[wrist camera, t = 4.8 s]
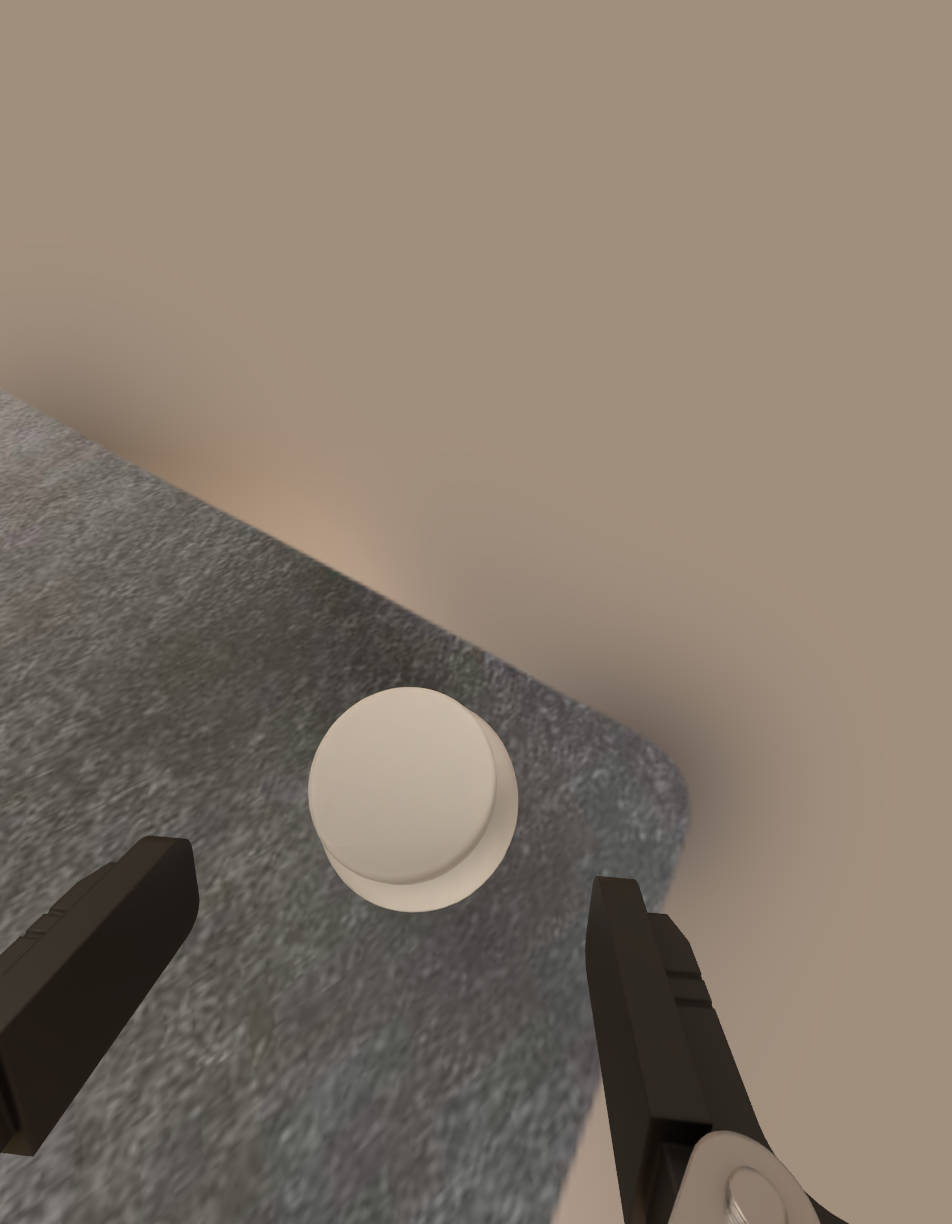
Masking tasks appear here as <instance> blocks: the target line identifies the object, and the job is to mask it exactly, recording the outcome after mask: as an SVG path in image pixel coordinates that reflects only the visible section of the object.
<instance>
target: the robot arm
mask: <svg viewBox="0 0 952 1224" xmlns="http://www.w3.org/2000/svg"><path fill="white" fill-rule="evenodd" d="M198 909H199V892H198V885H197V878H196V872H195V865H194V858H193V851H192V845H191V843H190V841H189V840H187V839H182V838H171V837H159V836H146V837H144V838H142V839H141V840H139V841H138V842H137V843H136V844H135V845H134V846H133V847H132V848H131V849H130V850H129V851H128V852H127V853H126V854H125V855H124V856H123V857H122V858H121V859H120V860H119V861H118V862H117V863H114V862H110V863H108V864H107V865H105V866H103V867H102V868H100V869H99V870H97V871H95V872H94V873H92V874H91V875H89V876H87V877H86V878H84V879H83V880H81V881H79V882H78V883H76V884H75V885H74V886H73V887H72V888H71V889H70V890H69V891H68V892H67V893H66V894H65V895H64V896H63V897H62V898H60V899H59V900H58V901H57V902H56V903H55V904H54V905H53V906H52V907H51V908H50V911H49V913H48V914H43V915H42V916H41V917H40V918H39V919H38V920H37V921H36V922H35V923H34V924H33V925H32V926H31V927H30V928H29V929H27V930H26V934H25V935H24V936H23V937H21V936H20V937H19V938H18V939H17V940H16V941H15V942H14V943H13V944H12V945H10V946H9V947H8V948H7V949H6V950H5V951H4V952H3V953H2V954H1V955H0V1153H9V1154H16V1155H24V1156H32V1157H33V1156H34V1155H35V1153H36V1152H37V1151H38V1149H39V1148H40V1146H41V1145H42V1143H43V1142H44V1141H45V1139H46V1138H47V1136H48V1135H49V1133H50V1132H51V1131H52V1129H53V1128H54V1126H55V1125H56V1123H57V1122H58V1121H59V1119H60V1118H61V1116H62V1115H63V1113H64V1112H65V1111H66V1109H67V1108H68V1106H69V1105H70V1103H71V1102H72V1101H73V1099H74V1098H75V1096H76V1095H77V1093H78V1092H79V1091H80V1089H81V1088H82V1086H83V1085H84V1083H85V1082H86V1081H87V1079H88V1078H89V1076H90V1075H91V1074H92V1072H93V1071H94V1069H95V1068H96V1066H97V1065H98V1064H99V1062H100V1061H101V1059H102V1058H103V1056H104V1055H105V1054H106V1052H107V1051H108V1049H109V1048H110V1046H111V1045H112V1044H113V1042H114V1041H115V1039H116V1038H117V1036H118V1035H119V1034H120V1032H121V1031H122V1029H123V1028H124V1026H125V1025H126V1024H127V1022H128V1021H129V1019H130V1018H131V1016H132V1015H133V1014H134V1012H135V1011H136V1009H137V1008H138V1006H139V1005H140V1004H141V1002H142V1001H143V999H144V998H145V996H146V995H147V994H148V992H149V991H150V989H151V988H152V986H153V985H154V984H155V982H156V981H157V979H158V978H159V977H160V975H161V974H162V972H163V971H164V969H165V968H166V967H167V965H168V964H169V962H170V961H171V959H172V958H173V957H174V955H175V954H176V952H177V951H178V949H179V948H180V947H181V945H182V944H183V942H184V941H185V939H186V938H187V936H188V935H189V933H190V931H191V930H192V927H193V925H194V923H195V920H196V917H197V914H198ZM585 957H586V972H587V980H588V986H589V993H590V1000H591V1006H592V1013H593V1019H594V1026H595V1032H596V1039H597V1046H598V1052H599V1059H600V1065H601V1072H602V1078H603V1085H604V1091H605V1098H606V1105H607V1111H608V1117H609V1124H610V1131H611V1137H612V1144H613V1150H614V1157H615V1164H616V1170H617V1176H618V1183H619V1190H620V1197H621V1203H622V1209H623V1216H624V1222H625V1224H848V1223H847V1222H845V1221H843V1220H841V1219H840V1218H838V1217H836V1216H835V1215H833V1214H832V1213H830V1212H829V1211H827V1210H826V1209H825V1208H824V1207H822V1206H821V1205H819V1204H818V1203H817V1202H816V1201H815V1200H814V1199H813V1198H811V1197H810V1196H809V1195H808V1194H807V1193H806V1192H805V1191H804V1190H803V1188H802V1187H801V1185H800V1184H799V1182H798V1181H797V1180H796V1179H795V1177H794V1176H793V1175H792V1173H791V1172H790V1171H789V1170H788V1169H787V1167H786V1166H785V1165H784V1164H783V1163H782V1162H781V1161H780V1160H779V1159H778V1158H777V1157H776V1156H775V1154H774V1153H773V1151H772V1150H771V1148H770V1146H769V1144H768V1142H767V1140H766V1139H765V1137H764V1135H763V1133H762V1130H761V1128H760V1126H759V1124H758V1121H757V1118H756V1116H755V1113H754V1111H753V1108H752V1105H751V1103H750V1100H749V1097H748V1095H747V1092H746V1089H745V1087H744V1084H743V1082H742V1079H741V1077H740V1074H739V1071H738V1069H737V1066H736V1063H735V1061H734V1058H733V1055H732V1053H731V1050H730V1048H729V1045H728V1043H727V1040H726V1037H725V1035H724V1032H723V1029H722V1027H721V1024H720V1021H719V1019H718V1016H717V1014H716V1011H715V1009H713V1007H712V1001H711V998H710V995H709V993H708V990H707V987H706V985H705V982H704V980H702V978H701V972H700V969H699V967H698V964H697V961H696V959H695V956H694V953H693V951H692V948H691V946H690V943H689V941H688V940H687V939H686V938H685V937H684V935H683V934H682V932H681V931H680V930H679V929H678V927H677V926H676V925H675V924H674V922H673V921H672V920H671V919H670V917H669V916H668V915H667V914H658V913H647V910H646V907H645V904H644V901H643V897H642V894H641V891H640V888H639V885H638V883H637V881H636V880H635V879H625V878H613V877H602V876H595V878H594V881H593V887H592V895H591V902H590V910H589V917H588V925H587V932H586V944H585Z"/></svg>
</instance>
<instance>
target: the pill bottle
mask: <svg viewBox="0 0 952 1224" xmlns="http://www.w3.org/2000/svg"><path fill="white" fill-rule="evenodd" d="M308 798H309V808H310V813H311V817H312V821H313V824H314V827H315V829H316V832H317V834H318V836H319V838H320V840H321V841H322V843H323V847H324V850H325V852H326V855H327V857H328V859H329V861H330V863H331V864H332V866H333V868H334V869H335V871H336V872H337V874H338V875H339V876H340V878H341V879H342V880H343V881H344V882H345V883H346V884H347V885H348V886H349V887H350V888H351V889H352V890H353V891H354V892H356V893H357V894H358V895H360V896H361V897H362V898H364V899H366V900H368V901H370V902H371V903H373V904H376V905H378V906H380V907H384V908H387V909H391V910H396V911H402V912H424V911H431V910H436V909H440V908H444V907H447V906H450V905H452V904H455V903H457V902H460V901H461V900H463V899H465V898H466V897H468V896H469V895H471V894H472V893H474V892H475V891H476V890H478V889H479V888H480V887H481V886H482V885H483V884H484V883H485V882H486V881H487V880H488V879H489V878H490V877H491V876H492V875H493V873H494V872H495V871H496V869H497V868H498V866H499V865H500V863H501V862H502V860H503V858H504V856H505V854H506V853H507V851H508V848H509V846H510V843H511V840H512V838H513V834H514V830H515V826H516V821H517V815H518V789H517V782H516V777H515V773H514V769H513V765H512V762H511V760H510V757H509V755H508V753H507V751H506V749H505V747H504V745H503V743H502V741H501V740H500V739H499V737H498V736H497V734H496V733H495V732H494V730H493V729H492V728H491V727H490V726H489V725H488V724H487V723H486V722H485V721H484V720H483V719H481V718H480V717H479V716H478V715H476V714H475V713H474V712H472V711H470V710H468V709H467V708H465V707H464V706H463V705H461V704H460V703H458V702H457V701H456V700H454V699H452V698H450V697H449V696H447V695H444V694H442V693H439V692H437V691H434V690H431V689H425V688H419V687H399V688H393V689H388V690H385V691H381V692H378V693H375V694H373V695H371V696H368V697H366V698H364V699H362V700H361V701H359V702H358V703H356V704H355V705H353V706H352V707H350V708H349V709H348V710H347V711H346V712H345V713H343V714H342V715H341V716H340V717H339V718H338V719H337V720H336V721H335V722H334V724H333V725H332V726H331V727H330V729H329V730H328V732H327V733H326V735H325V736H324V738H323V740H322V741H321V743H320V745H319V747H318V749H317V752H316V754H315V757H314V760H313V762H312V767H311V771H310V776H309V786H308Z"/></svg>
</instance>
